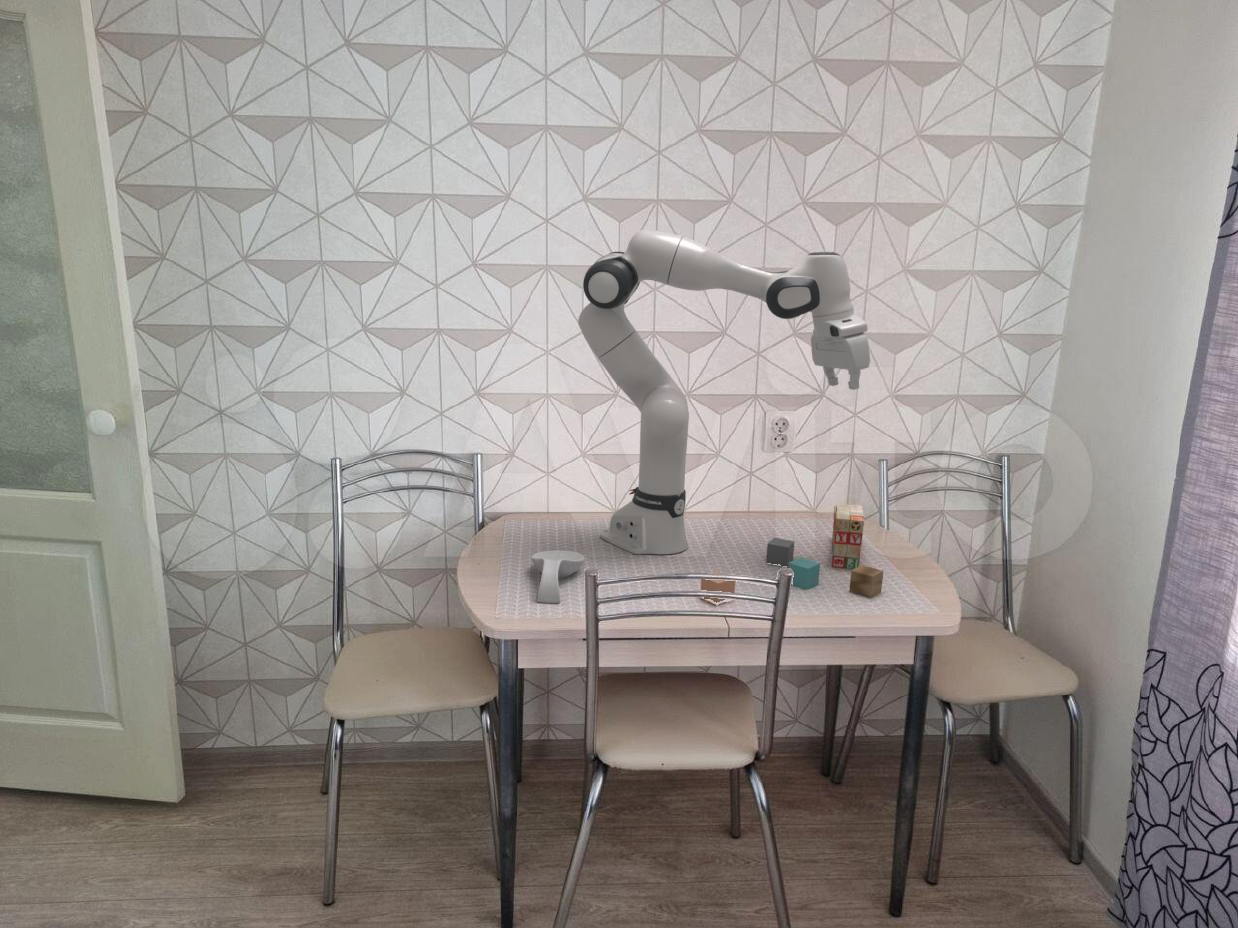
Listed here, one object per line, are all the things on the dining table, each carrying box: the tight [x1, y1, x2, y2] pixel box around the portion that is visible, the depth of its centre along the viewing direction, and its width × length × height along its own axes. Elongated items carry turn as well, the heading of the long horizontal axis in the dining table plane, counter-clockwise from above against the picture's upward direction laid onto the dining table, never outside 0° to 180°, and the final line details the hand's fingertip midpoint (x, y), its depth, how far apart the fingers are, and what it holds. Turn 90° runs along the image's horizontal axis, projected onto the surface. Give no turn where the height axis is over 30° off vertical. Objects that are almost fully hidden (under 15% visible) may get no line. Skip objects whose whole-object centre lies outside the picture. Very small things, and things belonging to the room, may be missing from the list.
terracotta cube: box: [700, 571, 736, 603], centre depth 188 cm, size 5×5×5 cm
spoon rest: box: [530, 550, 585, 604], centre depth 194 cm, size 24×12×7 cm, turn 179°
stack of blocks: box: [831, 503, 865, 570], centre depth 217 cm, size 21×6×12 cm, turn 167°
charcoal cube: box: [765, 537, 795, 568], centre depth 211 cm, size 5×5×5 cm
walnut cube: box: [848, 564, 884, 599], centre depth 194 cm, size 5×5×5 cm
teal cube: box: [787, 557, 821, 591], centre depth 198 cm, size 5×5×5 cm
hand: (843, 387), depth 200 cm, fingers open, 8 cm apart
